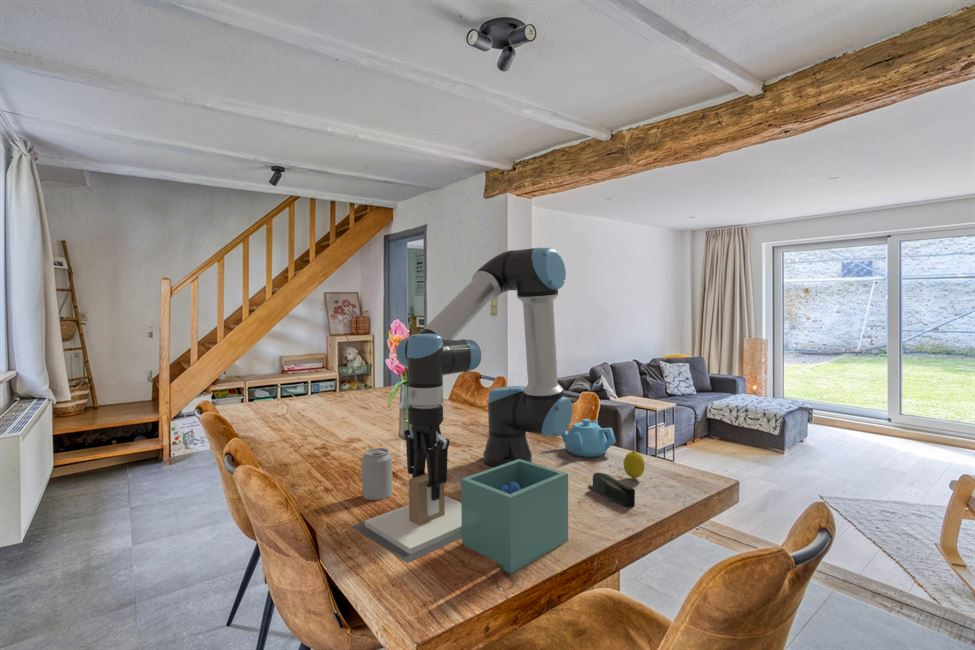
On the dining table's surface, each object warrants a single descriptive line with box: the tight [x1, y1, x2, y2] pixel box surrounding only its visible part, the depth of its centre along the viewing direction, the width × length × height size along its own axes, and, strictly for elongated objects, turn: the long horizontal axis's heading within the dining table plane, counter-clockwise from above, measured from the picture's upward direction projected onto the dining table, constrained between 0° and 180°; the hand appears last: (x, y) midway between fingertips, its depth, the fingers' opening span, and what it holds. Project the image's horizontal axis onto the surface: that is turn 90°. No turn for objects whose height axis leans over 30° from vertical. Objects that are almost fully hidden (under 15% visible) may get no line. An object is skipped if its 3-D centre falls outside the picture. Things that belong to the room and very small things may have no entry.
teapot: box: [560, 418, 617, 458], centre depth 158 cm, size 15×15×11 cm
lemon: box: [623, 450, 646, 480], centre depth 133 cm, size 6×6×8 cm
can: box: [361, 447, 393, 501], centre depth 122 cm, size 8×8×12 cm
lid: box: [364, 472, 462, 555], centre depth 105 cm, size 17×21×10 cm
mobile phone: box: [587, 472, 636, 508], centre depth 121 cm, size 5×3×15 cm
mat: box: [351, 500, 462, 563], centre depth 106 cm, size 21×25×1 cm
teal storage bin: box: [460, 459, 569, 575], centre depth 97 cm, size 13×17×14 cm
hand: (427, 510), depth 105 cm, fingers closed on lid, 3 cm apart
